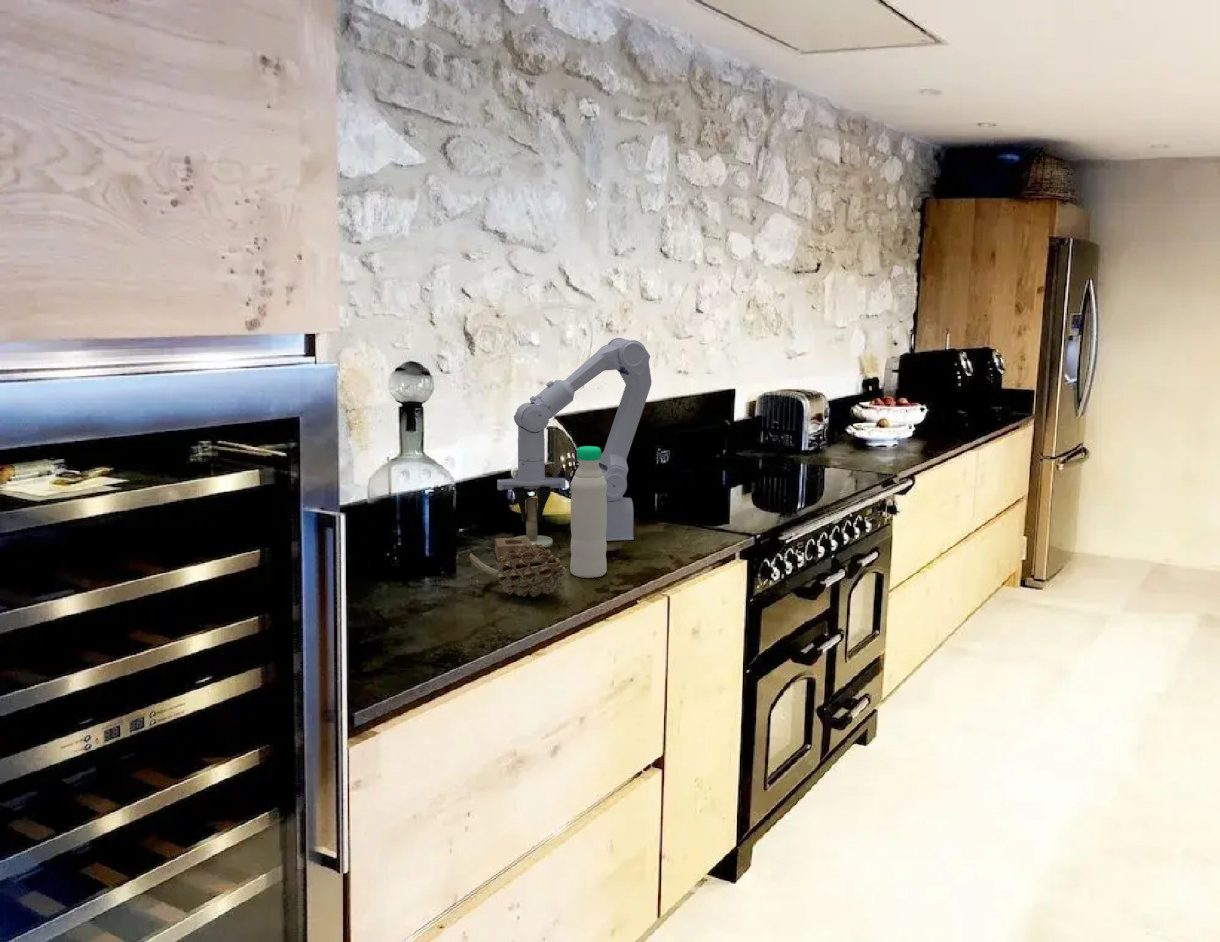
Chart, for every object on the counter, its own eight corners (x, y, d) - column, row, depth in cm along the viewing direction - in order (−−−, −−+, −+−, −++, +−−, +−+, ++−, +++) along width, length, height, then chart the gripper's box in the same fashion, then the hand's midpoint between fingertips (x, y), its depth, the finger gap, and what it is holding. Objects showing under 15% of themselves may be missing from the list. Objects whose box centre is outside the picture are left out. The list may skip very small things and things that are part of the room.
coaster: (549, 537, 241) (549, 534, 241) (555, 547, 232) (555, 544, 232) (509, 539, 239) (509, 535, 239) (513, 549, 230) (513, 545, 230)
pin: (537, 538, 237) (536, 497, 235) (537, 540, 234) (537, 499, 233) (525, 538, 236) (525, 497, 235) (526, 541, 234) (526, 500, 233)
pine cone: (577, 596, 197) (577, 543, 195) (549, 610, 189) (548, 554, 187) (478, 579, 208) (478, 528, 206) (447, 591, 200) (446, 538, 198)
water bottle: (602, 579, 208) (603, 450, 204) (566, 577, 209) (566, 449, 205) (609, 570, 215) (610, 445, 210) (575, 568, 216) (575, 443, 212)
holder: (528, 551, 229) (528, 537, 229) (532, 559, 222) (532, 545, 222) (495, 552, 228) (495, 538, 227) (498, 561, 221) (497, 546, 220)
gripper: (562, 455, 238) (562, 516, 240) (495, 457, 235) (496, 518, 237) (567, 460, 231) (567, 523, 233) (498, 462, 228) (499, 525, 230)
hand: (531, 521), depth 235 cm, fingers open, 3 cm apart
